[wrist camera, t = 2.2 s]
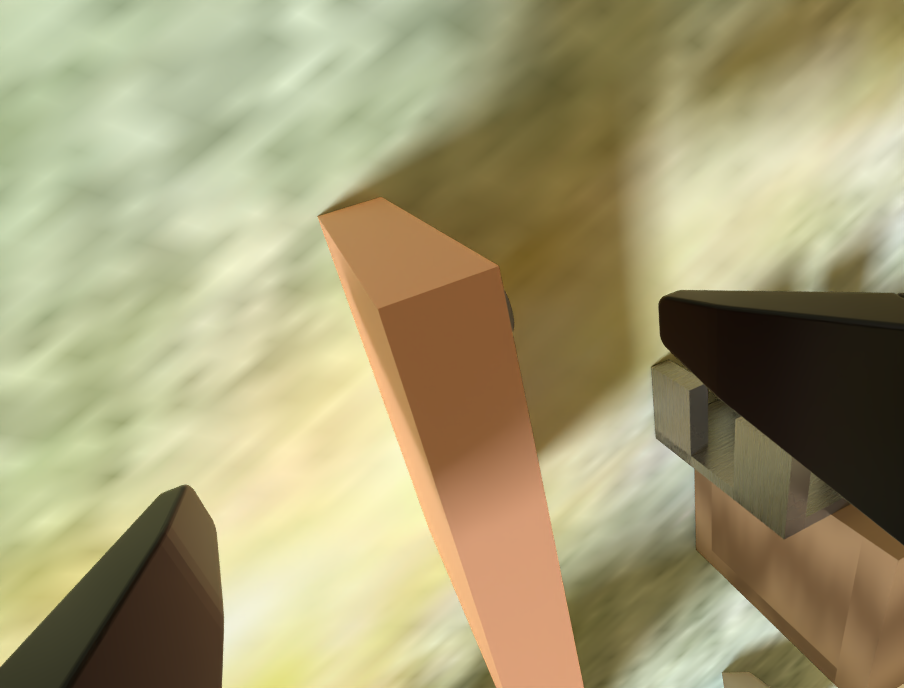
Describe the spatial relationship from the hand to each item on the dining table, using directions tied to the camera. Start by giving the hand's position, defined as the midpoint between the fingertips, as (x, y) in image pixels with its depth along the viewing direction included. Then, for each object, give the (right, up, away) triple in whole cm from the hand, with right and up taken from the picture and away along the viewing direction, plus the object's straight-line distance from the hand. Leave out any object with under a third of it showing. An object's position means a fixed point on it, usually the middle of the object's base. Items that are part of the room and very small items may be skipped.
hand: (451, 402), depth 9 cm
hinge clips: (+10, -1, +12) cm, 16 cm away
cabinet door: (-1, 0, +7) cm, 8 cm away
